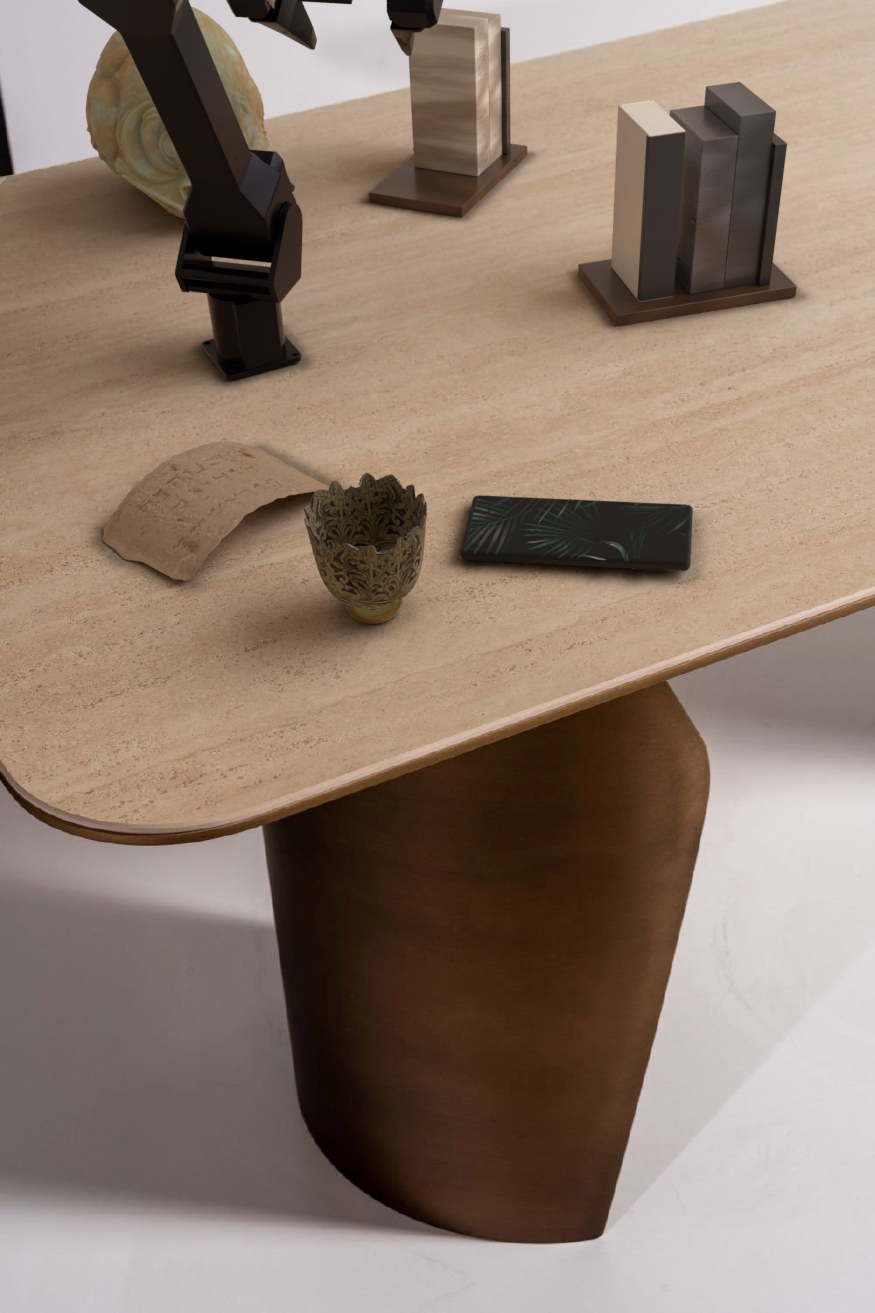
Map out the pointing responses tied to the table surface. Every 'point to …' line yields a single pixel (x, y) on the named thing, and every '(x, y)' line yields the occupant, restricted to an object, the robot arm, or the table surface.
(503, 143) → the white book shelf
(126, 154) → the sculpture
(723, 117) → the grey book shelf
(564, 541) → the smartphone
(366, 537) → the cup
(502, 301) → the table surface
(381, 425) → the table surface
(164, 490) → the clay tablet
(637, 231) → the white book
